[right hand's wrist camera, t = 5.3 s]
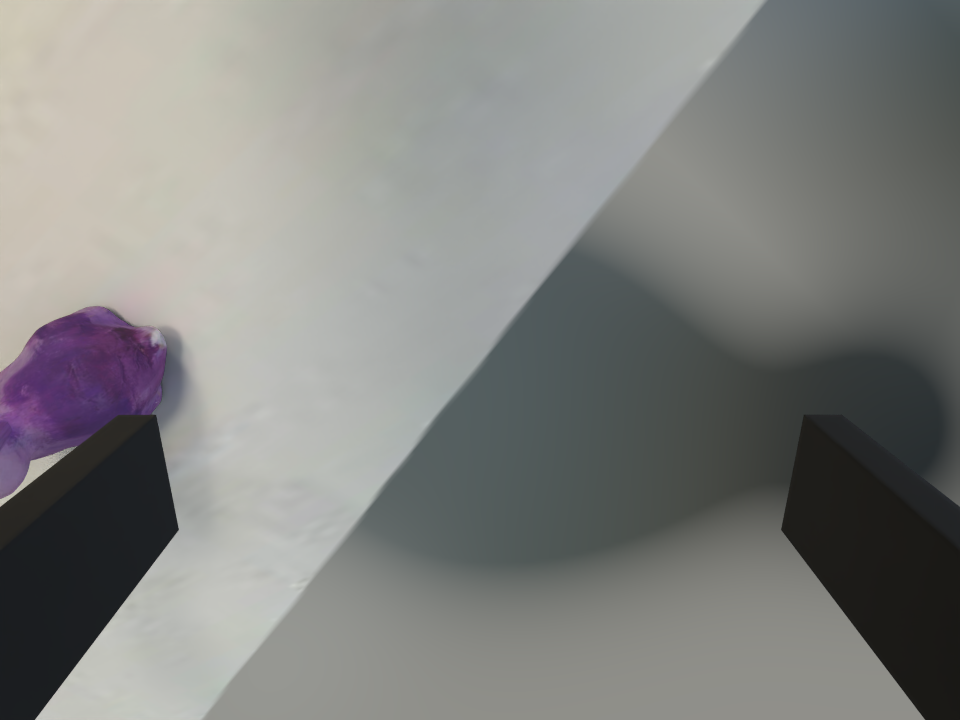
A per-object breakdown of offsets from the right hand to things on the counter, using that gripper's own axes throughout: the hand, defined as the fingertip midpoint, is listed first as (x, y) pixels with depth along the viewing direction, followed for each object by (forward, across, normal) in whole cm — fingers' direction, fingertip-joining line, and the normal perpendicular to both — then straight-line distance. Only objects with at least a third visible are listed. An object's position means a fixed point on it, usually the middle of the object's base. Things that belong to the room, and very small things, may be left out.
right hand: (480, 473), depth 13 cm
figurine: (+28, -25, -9) cm, 39 cm away
